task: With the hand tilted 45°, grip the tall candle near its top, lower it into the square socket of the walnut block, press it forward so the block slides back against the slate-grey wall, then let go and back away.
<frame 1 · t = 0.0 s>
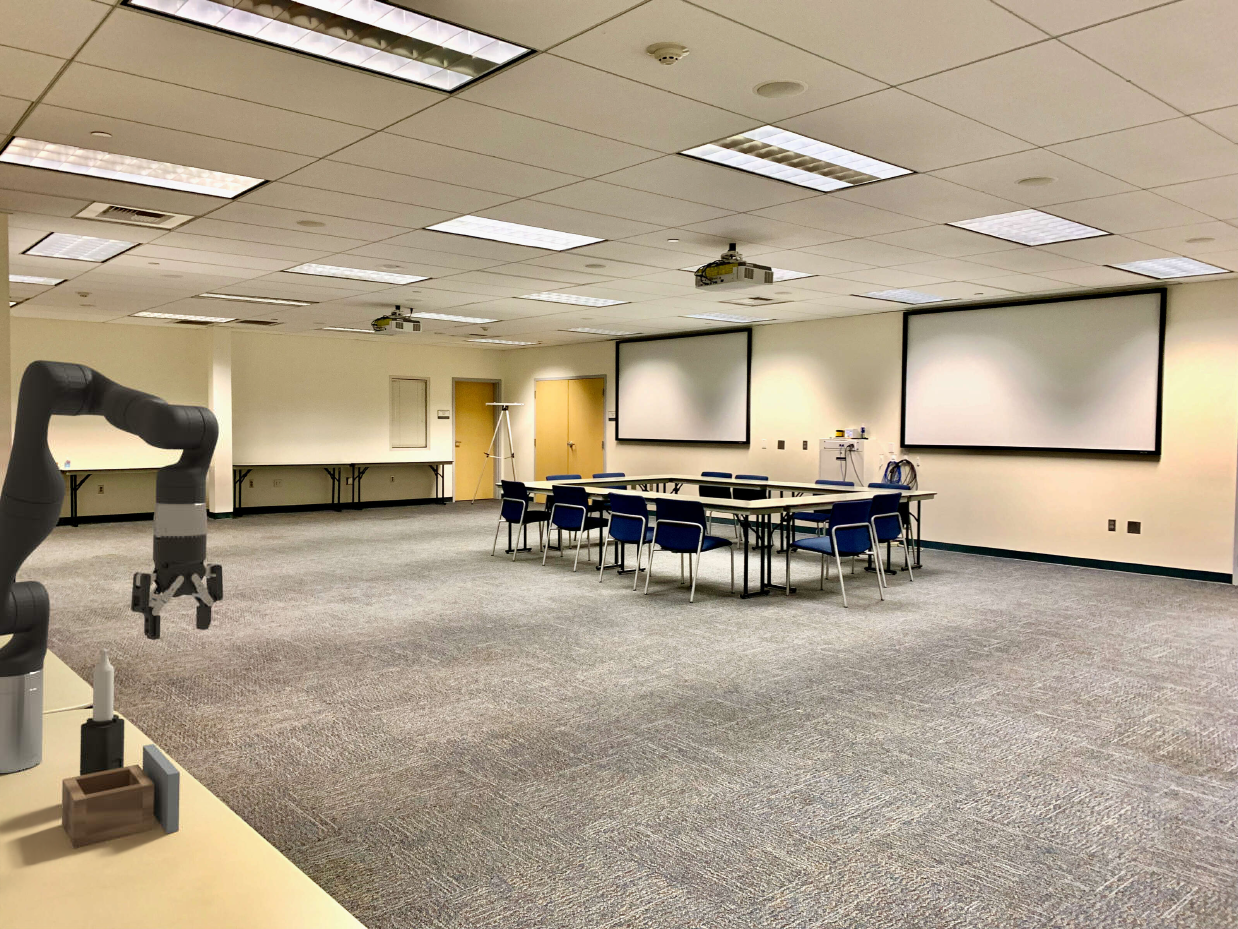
hand: (178, 634, 135), 29 cm above the table, tool pointing down, fingers open, 8 cm apart
socket block: (107, 804, 132), point 3 cm above the table, slide at 0.0 cm
backstop wall: (107, 826, 132), on the table
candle: (101, 799, 142), on the table
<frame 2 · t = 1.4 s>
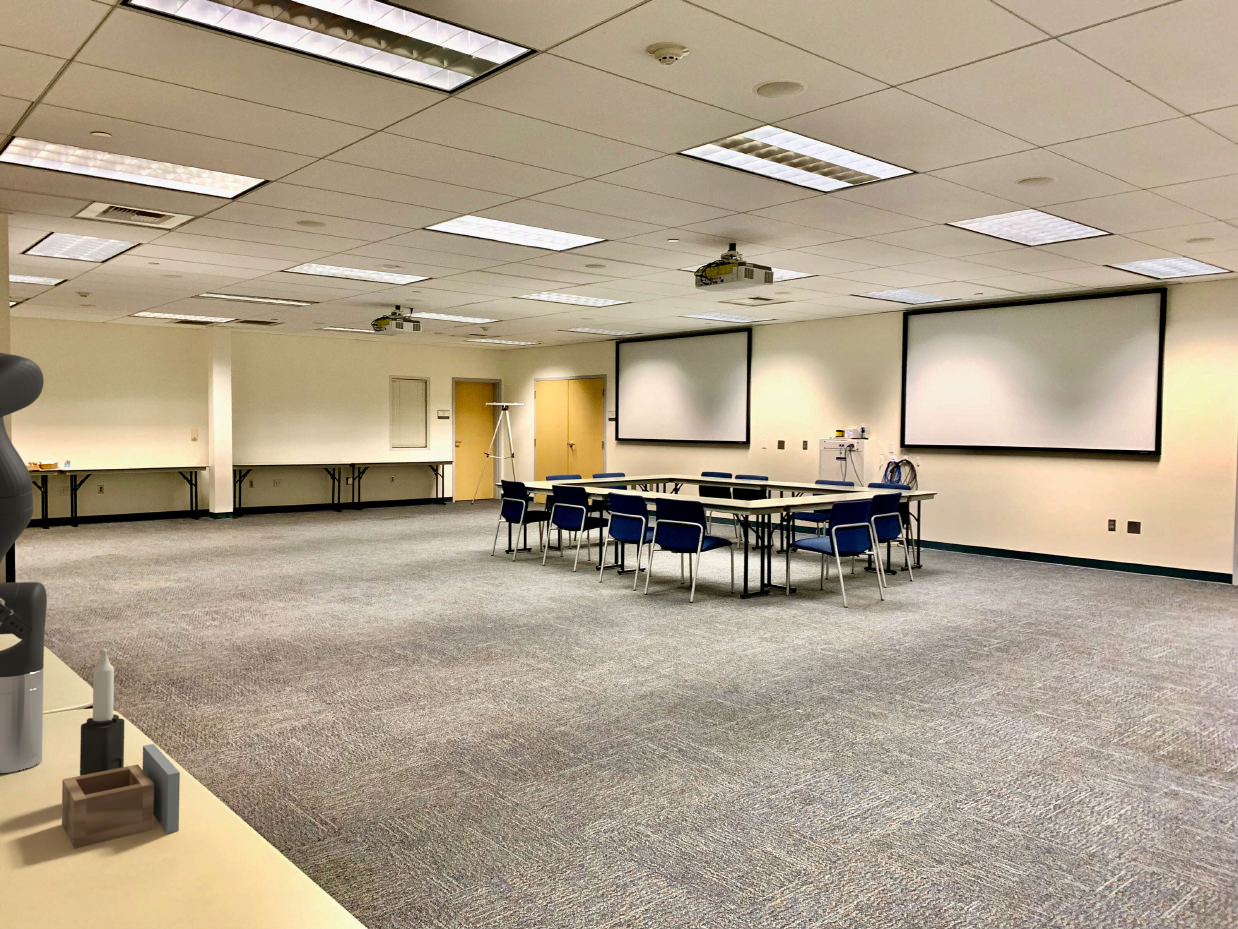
hand: (22, 629, 135), 29 cm above the table, tool tilted 45°, fingers open, 8 cm apart
nothing on the table moved.
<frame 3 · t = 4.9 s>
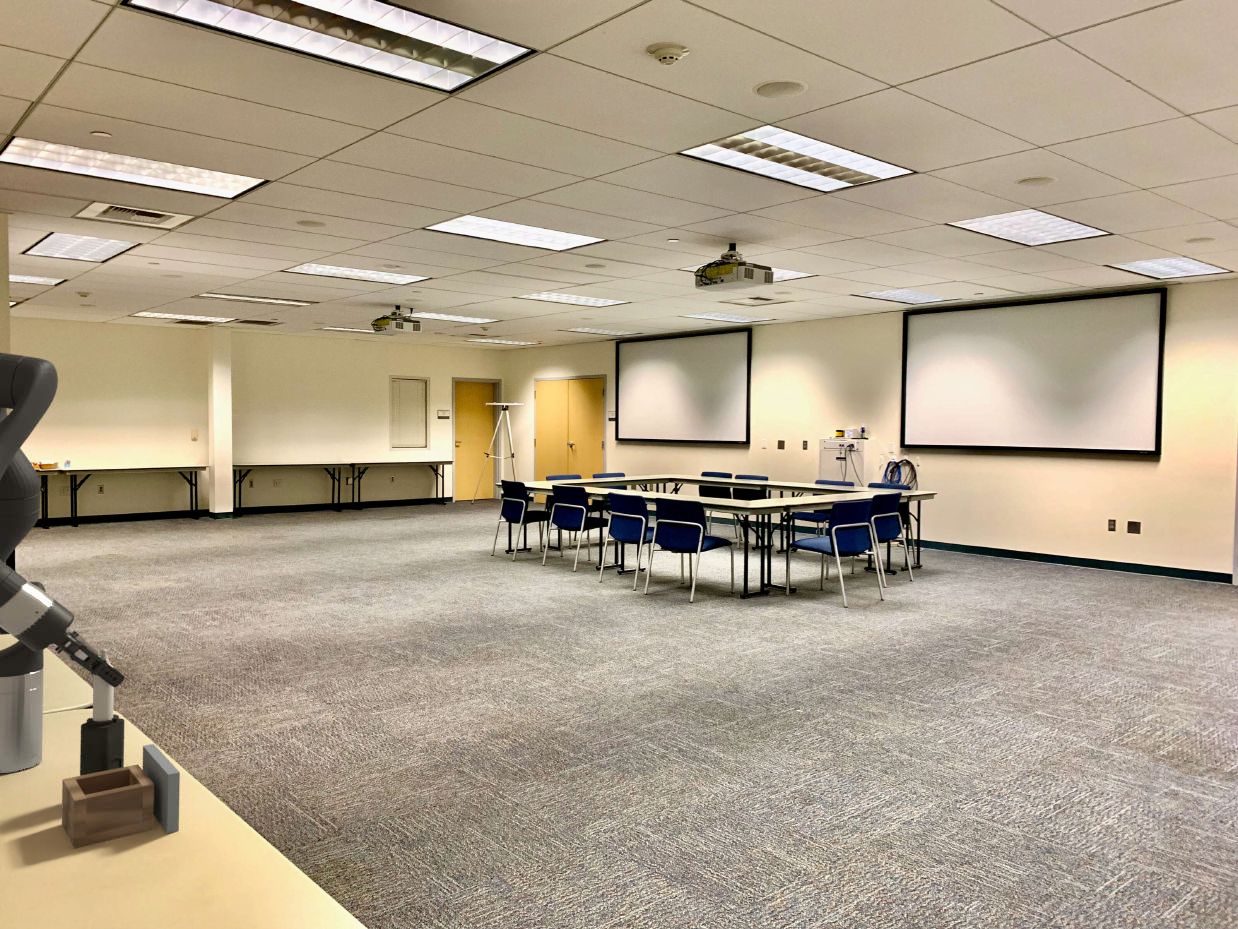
hand: (117, 680, 144), 19 cm above the table, tool tilted 45°, fingers closed on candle, 3 cm apart
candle: (101, 799, 142), on the table, touching gripper
everything else where it was.
when the fingers open (22 cm above the table, at t = 10.3 s): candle drops 1 cm, resting on socket block.
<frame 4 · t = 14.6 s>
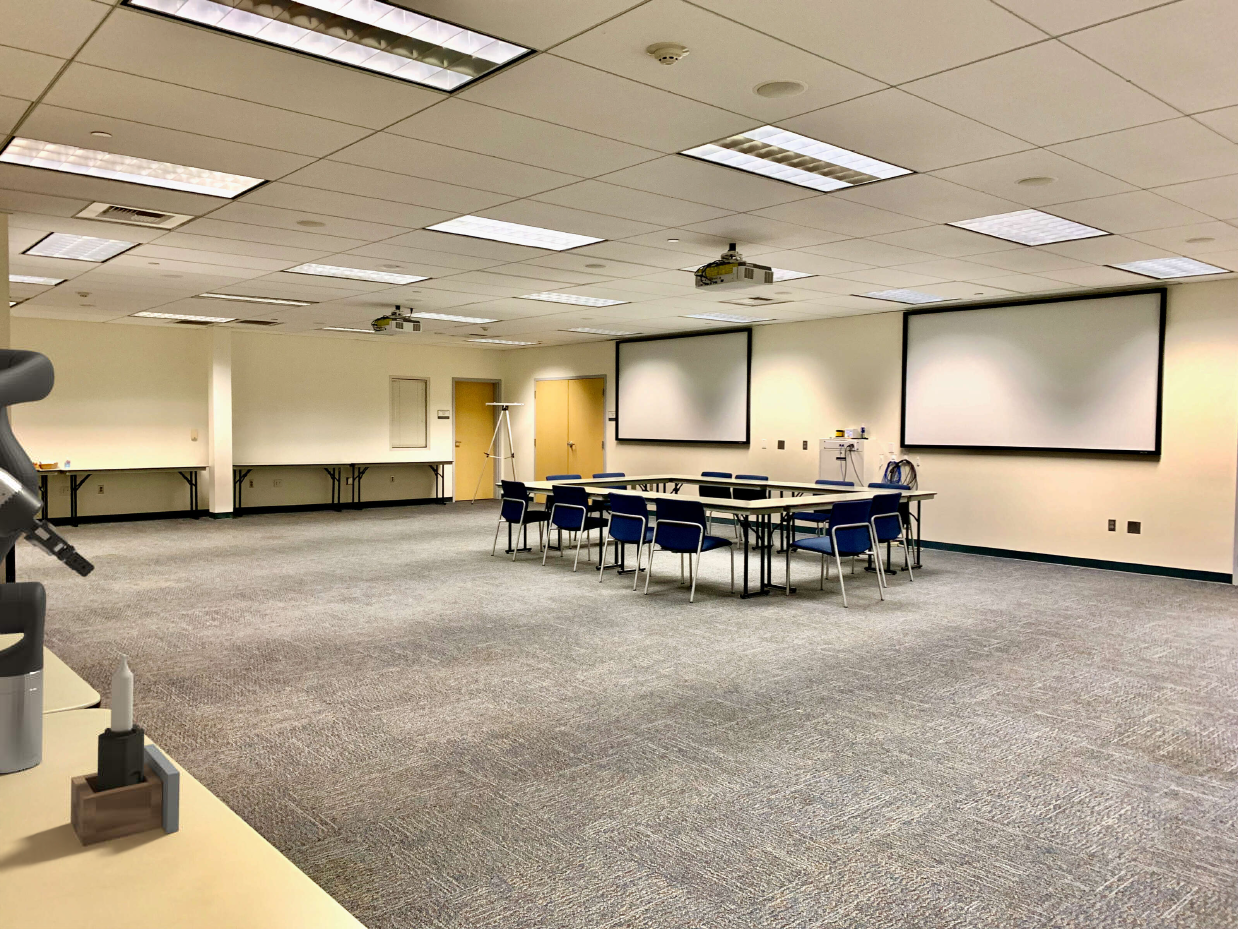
hand: (84, 569, 138), 39 cm above the table, tool tilted 45°, fingers open, 8 cm apart
socket block: (116, 802, 133), point 3 cm above the table, slide at 1.2 cm, touching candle
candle: (120, 815, 133), point 1 cm above the table, touching socket block
at the end: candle 0.6 cm from the socket block (horizontally); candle point 1.3 cm above the table; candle tilted 0° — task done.
